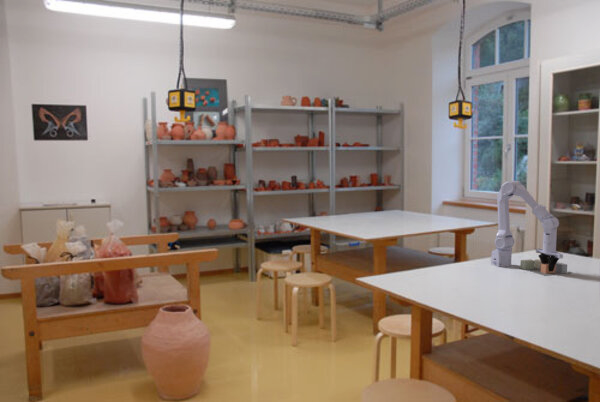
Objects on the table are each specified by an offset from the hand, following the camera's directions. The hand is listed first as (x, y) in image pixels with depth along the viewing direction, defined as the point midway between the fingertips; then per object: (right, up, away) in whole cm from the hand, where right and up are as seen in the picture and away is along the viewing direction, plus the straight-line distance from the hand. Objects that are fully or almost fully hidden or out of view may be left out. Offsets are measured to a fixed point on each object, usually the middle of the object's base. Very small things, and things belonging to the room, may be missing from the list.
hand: (548, 270), depth 238 cm
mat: (0, -1, +4) cm, 4 cm away
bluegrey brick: (+7, -1, +2) cm, 7 cm away
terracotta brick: (0, -1, 0) cm, 1 cm away
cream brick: (+2, 0, +10) cm, 10 cm away
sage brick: (-6, 0, +9) cm, 10 cm away
